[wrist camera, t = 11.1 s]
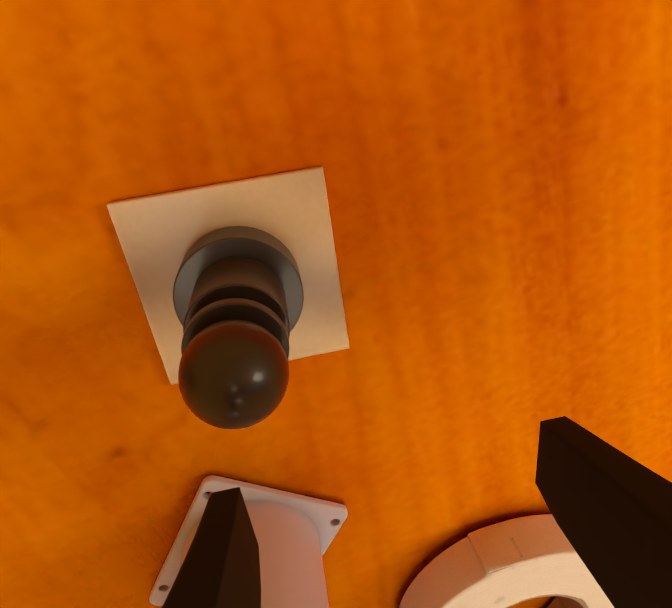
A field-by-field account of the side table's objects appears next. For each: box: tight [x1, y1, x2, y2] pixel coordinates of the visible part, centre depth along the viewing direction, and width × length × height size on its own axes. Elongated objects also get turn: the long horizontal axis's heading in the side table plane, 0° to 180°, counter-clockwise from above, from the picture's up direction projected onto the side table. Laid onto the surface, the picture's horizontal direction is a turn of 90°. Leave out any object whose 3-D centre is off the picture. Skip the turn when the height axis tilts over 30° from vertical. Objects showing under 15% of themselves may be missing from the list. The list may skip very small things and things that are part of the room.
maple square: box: [106, 166, 349, 384], centre depth 19 cm, size 8×8×1 cm
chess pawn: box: [173, 226, 304, 429], centre depth 15 cm, size 5×5×8 cm
